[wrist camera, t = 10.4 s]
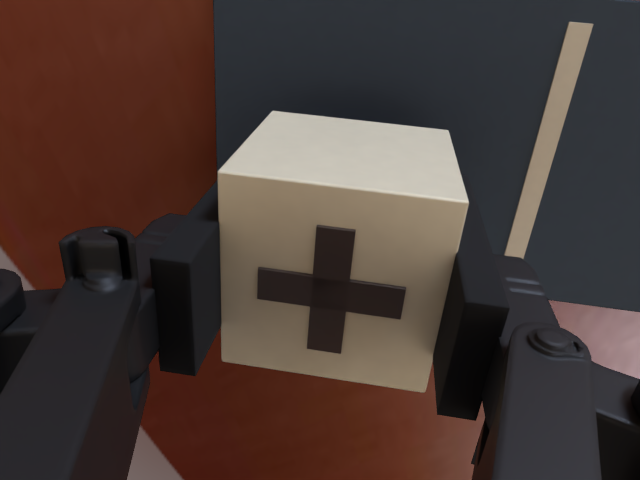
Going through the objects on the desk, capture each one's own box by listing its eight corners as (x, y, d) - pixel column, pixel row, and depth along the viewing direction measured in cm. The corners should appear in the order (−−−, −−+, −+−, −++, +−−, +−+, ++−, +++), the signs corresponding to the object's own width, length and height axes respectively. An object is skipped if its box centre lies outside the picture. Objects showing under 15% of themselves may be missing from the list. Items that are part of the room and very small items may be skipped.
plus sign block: (267, 261, 17) (219, 365, 13) (271, 110, 15) (215, 172, 10) (419, 281, 17) (426, 397, 12) (449, 129, 14) (470, 204, 10)
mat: (222, 249, 25) (217, 256, 24) (217, -36, 19) (210, -35, 18) (806, 327, 22) (817, 337, 22) (996, 31, 17) (1019, 33, 16)
